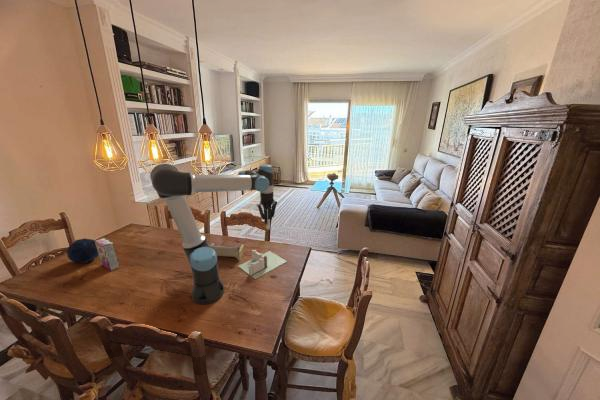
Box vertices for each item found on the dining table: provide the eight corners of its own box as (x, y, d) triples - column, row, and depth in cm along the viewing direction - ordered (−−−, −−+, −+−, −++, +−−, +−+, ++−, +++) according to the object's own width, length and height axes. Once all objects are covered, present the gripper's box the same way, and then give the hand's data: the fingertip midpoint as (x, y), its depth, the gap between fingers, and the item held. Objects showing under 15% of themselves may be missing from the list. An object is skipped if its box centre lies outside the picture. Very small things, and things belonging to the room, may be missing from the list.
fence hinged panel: (265, 265, 141) (264, 255, 139) (263, 266, 140) (262, 256, 138) (254, 257, 148) (253, 248, 146) (252, 258, 147) (251, 249, 145)
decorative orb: (93, 259, 136) (94, 234, 140) (59, 264, 131) (61, 238, 135) (104, 261, 149) (104, 238, 153) (74, 266, 143) (75, 242, 148)
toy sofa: (244, 253, 155) (243, 239, 151) (240, 260, 147) (239, 246, 143) (213, 252, 156) (211, 238, 152) (207, 259, 147) (205, 245, 144)
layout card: (254, 279, 130) (254, 278, 130) (238, 266, 141) (238, 265, 141) (287, 261, 146) (286, 261, 146) (269, 251, 157) (269, 250, 157)
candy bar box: (101, 265, 140) (93, 240, 134) (111, 261, 144) (104, 237, 138) (110, 271, 134) (103, 246, 129) (120, 267, 138) (113, 242, 133)
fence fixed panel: (250, 276, 132) (249, 265, 129) (248, 274, 133) (248, 263, 131) (267, 267, 140) (267, 256, 138) (266, 265, 141) (265, 255, 139)
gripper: (273, 188, 142) (274, 224, 150) (253, 191, 135) (255, 229, 143) (279, 191, 137) (280, 228, 144) (259, 195, 129) (261, 233, 137)
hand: (267, 228), depth 143 cm, fingers closed
